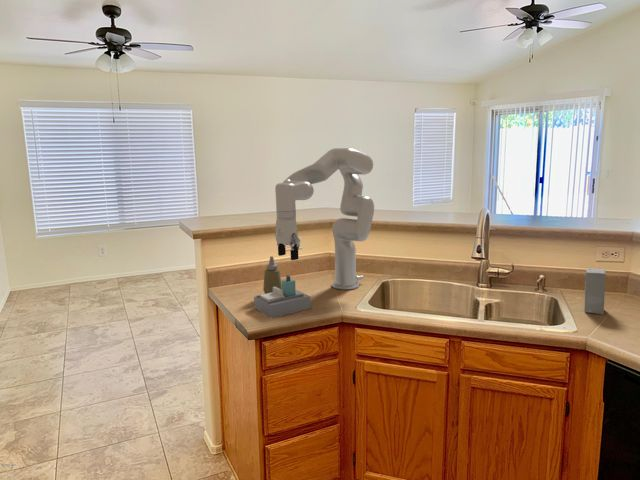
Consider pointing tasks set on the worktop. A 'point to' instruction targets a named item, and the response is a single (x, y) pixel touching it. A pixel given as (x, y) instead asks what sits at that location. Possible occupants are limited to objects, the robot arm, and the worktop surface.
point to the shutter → (273, 294)
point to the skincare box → (595, 291)
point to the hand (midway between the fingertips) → (288, 257)
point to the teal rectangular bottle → (288, 287)
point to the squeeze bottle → (271, 277)
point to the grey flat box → (283, 304)
